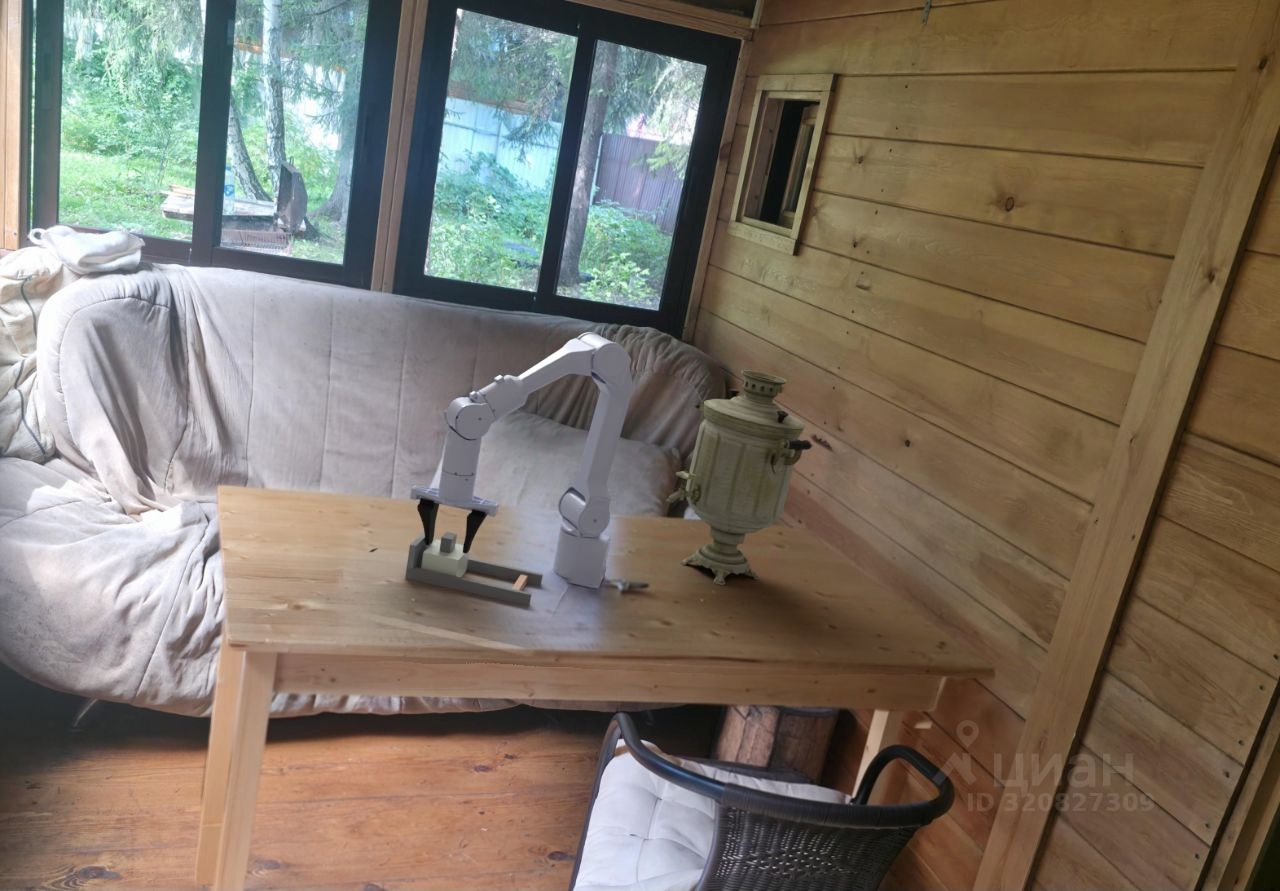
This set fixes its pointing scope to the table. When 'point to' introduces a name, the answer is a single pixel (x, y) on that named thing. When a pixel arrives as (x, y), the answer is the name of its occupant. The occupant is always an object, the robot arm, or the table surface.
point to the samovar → (740, 470)
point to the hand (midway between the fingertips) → (447, 547)
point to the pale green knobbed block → (445, 556)
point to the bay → (471, 585)
